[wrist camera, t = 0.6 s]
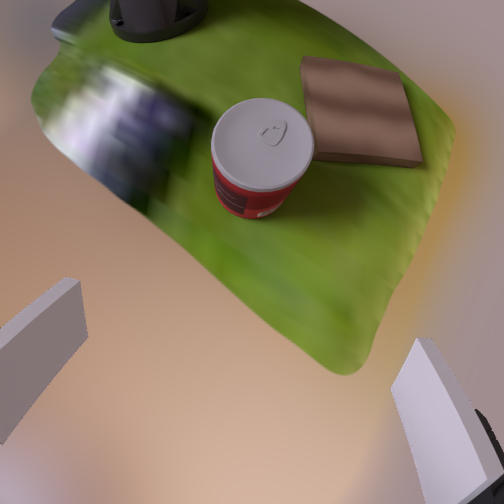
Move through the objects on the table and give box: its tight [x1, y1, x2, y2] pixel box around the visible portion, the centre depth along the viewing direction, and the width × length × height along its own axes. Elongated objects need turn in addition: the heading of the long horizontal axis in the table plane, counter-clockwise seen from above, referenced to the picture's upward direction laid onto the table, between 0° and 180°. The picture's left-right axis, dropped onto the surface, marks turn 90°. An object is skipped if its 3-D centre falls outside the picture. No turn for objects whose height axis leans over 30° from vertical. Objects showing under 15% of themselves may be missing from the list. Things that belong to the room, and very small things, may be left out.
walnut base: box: [299, 56, 423, 168], centre depth 33 cm, size 14×14×2 cm
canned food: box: [211, 98, 314, 219], centre depth 27 cm, size 8×8×11 cm
